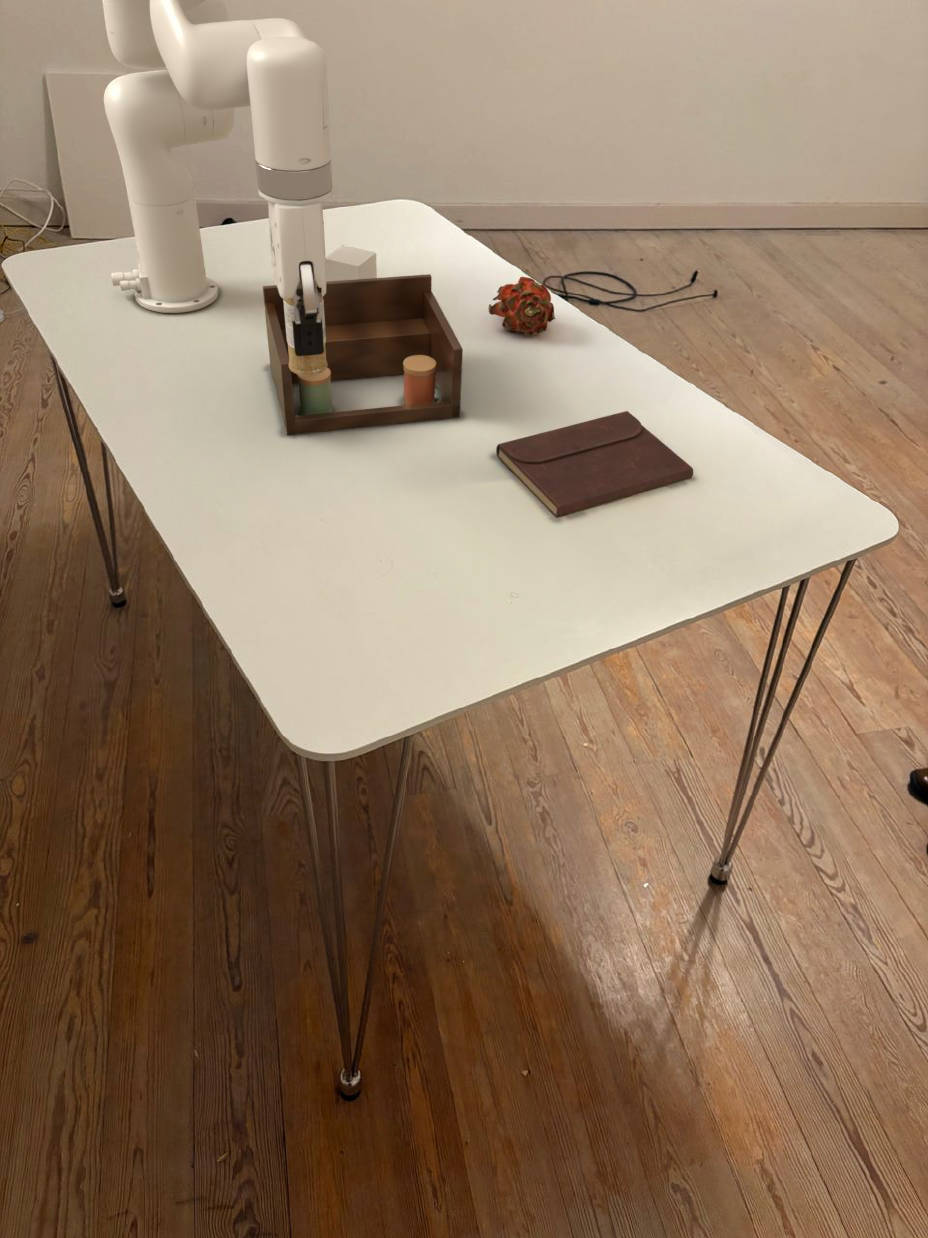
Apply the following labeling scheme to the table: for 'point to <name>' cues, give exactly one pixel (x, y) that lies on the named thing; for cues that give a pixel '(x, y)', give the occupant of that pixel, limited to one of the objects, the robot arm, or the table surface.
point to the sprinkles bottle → (296, 363)
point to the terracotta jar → (419, 379)
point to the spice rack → (371, 348)
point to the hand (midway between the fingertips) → (306, 341)
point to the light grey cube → (350, 264)
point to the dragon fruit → (524, 307)
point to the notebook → (592, 463)
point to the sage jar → (315, 393)
